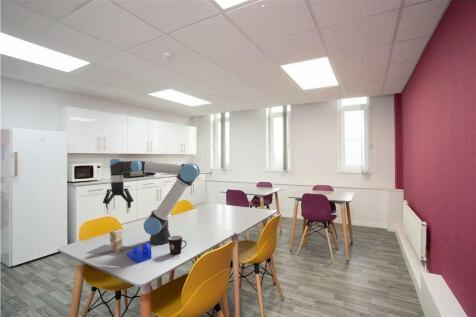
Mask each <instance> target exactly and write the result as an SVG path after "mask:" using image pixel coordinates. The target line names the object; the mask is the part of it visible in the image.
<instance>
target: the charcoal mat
mask: <svg viewBox="0 0 476 317" xmlns="http://www.w3.org/2000/svg"><path fill="white" fill-rule="evenodd" d="M131 249H133V245H132V246H131V245H122V250H120V251H118V252H111V251H110V244H103V245H101V246H98V247H97V248H94V249H91V250H89V251H87V252H86V254H88V255H89V254H91V255H100V256H114V257H117V256H119V255H121V254H123V253H125V252H126V251H128V250H131Z"/></svg>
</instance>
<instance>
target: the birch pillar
mask: <svg viewBox="0 0 476 317" xmlns="http://www.w3.org/2000/svg"><path fill="white" fill-rule="evenodd" d="M109 245H110V251H111V252H118V251H120V250H122V246H123V230H122V229H112V230H111V231H109Z"/></svg>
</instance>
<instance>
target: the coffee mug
mask: <svg viewBox="0 0 476 317" xmlns="http://www.w3.org/2000/svg"><path fill="white" fill-rule="evenodd" d="M170 236H171V237H169V238H168V240H169V242H168V245H169V246H168V247H169V252H170V255H171V256H178V255H181V254H182V250H183V249H184V248H185V247H187V244H188V243H187V240H184V239H183V236H182V235H170ZM183 242H184V243H185V245H184V246H183ZM182 246H183V247H182Z"/></svg>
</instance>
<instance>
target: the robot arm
mask: <svg viewBox="0 0 476 317" xmlns="http://www.w3.org/2000/svg"><path fill="white" fill-rule="evenodd" d="M109 168H110V169H109V171H110V188H108V189H106V192H105V196H104V199H103V201H102V204H105V208H106V211H107V213H106V214H107V215H110V214H111V213H112V209H111V208H112V207H111V206H112V204H111V201H112V200H113V198H115V197H116V196H120V197H121V198H123V200H124V201H125V202H126V214H129V213H131V207H132V203H133V202H134V199H133V197H132V195H131V193H130V191H129V188H128V187H127V188H124V173H139V172H142V173H143V172H144V173H145V172H146V173H153V174H165V175H173V176H176V177H175V178H176V181H174V184H173V185H172V186H171V188H170V190H169V191H168V192H167V194H166V195H165V197H164V198H163V199H162V201H161V202H160V203H159V206H158V207H157V209H153V210H151V213H150V214H149V216H148V218H146V219H145V220H144V222H143V230H144V232H145V233H147V234H148V235H150V237H149V244H150V245H155V246H160V245H165V244H169V240H168V238H169V237H171V236H172V235H171V234H170V230H169V215H170V213H171V212H172V210H173V209H174V207H175V206H176V205H177V203H178V202H179V200H180V199H181V197H182V195H183V194H184V193H185V191H186V189H187V188H188V187H191V186H192V185H193V184H194V182H195V180H197V178H198V177H199V176H200V172H201V171H200V170H201V169H200V168H199V166H198V165H197V164H196V163H192V162H190V163H181V164H173V163H164V162H162V163H161V162H152V161H144V160H127V161H126V160H125V161H123V159H122V158H111V159H110V160H109Z"/></svg>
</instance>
